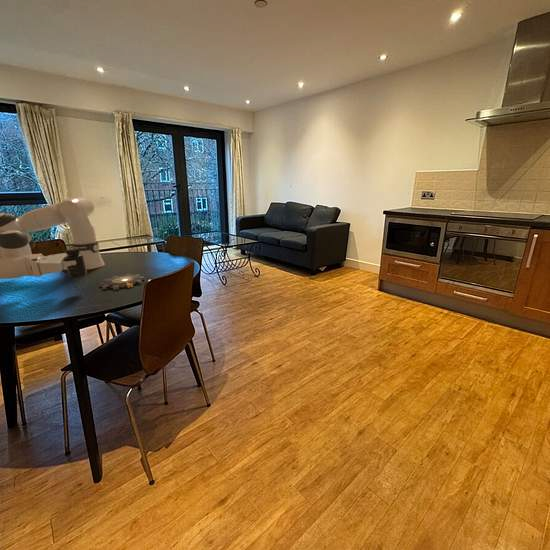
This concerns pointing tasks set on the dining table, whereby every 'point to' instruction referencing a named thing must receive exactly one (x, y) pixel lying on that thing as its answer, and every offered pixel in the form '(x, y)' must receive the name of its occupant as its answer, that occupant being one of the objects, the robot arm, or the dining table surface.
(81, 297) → the dining table surface
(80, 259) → the supplement bottle
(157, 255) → the dining table surface
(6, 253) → the robot arm
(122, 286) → the sprocket plate
